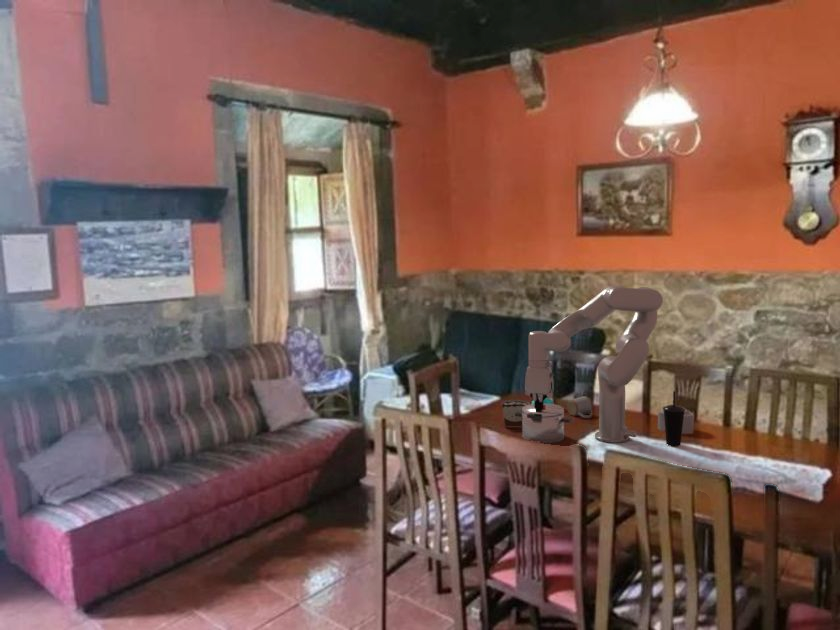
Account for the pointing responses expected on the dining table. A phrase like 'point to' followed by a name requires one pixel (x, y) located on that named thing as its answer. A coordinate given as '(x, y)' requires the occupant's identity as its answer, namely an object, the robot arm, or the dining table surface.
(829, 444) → the dining table surface
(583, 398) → the ceramic mug
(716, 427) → the dining table surface
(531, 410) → the lid
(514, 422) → the food container
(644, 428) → the dining table surface
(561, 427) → the pot
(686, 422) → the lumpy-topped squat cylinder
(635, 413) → the dining table surface
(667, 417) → the drinking cup
